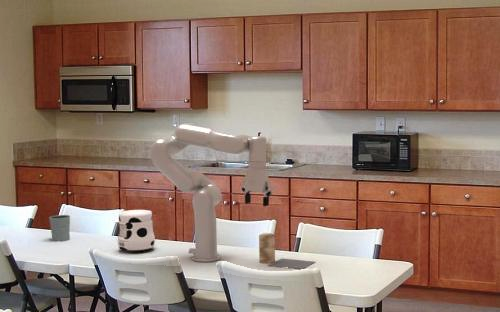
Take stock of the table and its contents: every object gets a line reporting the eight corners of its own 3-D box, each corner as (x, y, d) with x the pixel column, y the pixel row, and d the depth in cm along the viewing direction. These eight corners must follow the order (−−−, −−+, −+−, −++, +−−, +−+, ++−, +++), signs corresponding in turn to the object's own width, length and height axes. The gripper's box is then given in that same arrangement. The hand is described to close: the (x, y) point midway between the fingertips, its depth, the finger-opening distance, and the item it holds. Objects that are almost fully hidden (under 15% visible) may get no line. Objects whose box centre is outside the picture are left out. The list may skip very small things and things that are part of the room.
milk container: (158, 246, 363) (157, 209, 361) (150, 254, 346) (149, 215, 344) (123, 246, 364) (122, 209, 363) (113, 254, 347) (112, 215, 346)
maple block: (259, 262, 325) (258, 235, 324) (264, 260, 330) (264, 232, 329) (269, 263, 323) (269, 235, 322) (275, 261, 327) (274, 233, 326)
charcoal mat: (267, 266, 319) (267, 265, 319) (281, 259, 331) (281, 258, 331) (302, 269, 311) (302, 268, 311) (315, 262, 324) (315, 261, 324)
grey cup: (65, 242, 377) (63, 218, 376) (46, 241, 379) (45, 217, 378) (74, 238, 387) (73, 214, 386) (56, 237, 389) (55, 214, 388)
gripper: (236, 164, 325) (235, 203, 327) (268, 167, 315) (267, 208, 317) (246, 162, 331) (246, 201, 333) (278, 166, 321) (278, 205, 323)
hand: (256, 204), depth 325 cm, fingers open, 9 cm apart
